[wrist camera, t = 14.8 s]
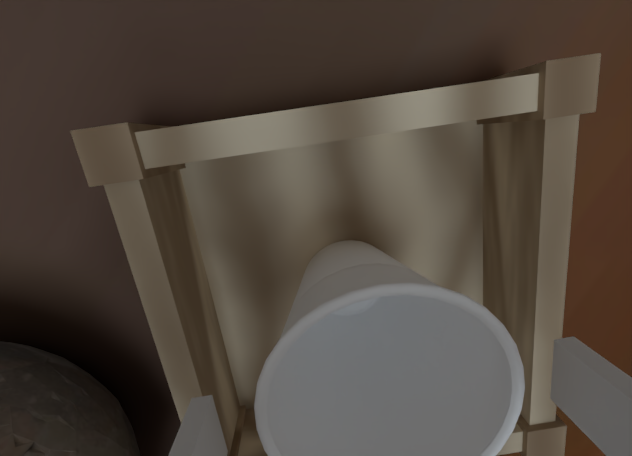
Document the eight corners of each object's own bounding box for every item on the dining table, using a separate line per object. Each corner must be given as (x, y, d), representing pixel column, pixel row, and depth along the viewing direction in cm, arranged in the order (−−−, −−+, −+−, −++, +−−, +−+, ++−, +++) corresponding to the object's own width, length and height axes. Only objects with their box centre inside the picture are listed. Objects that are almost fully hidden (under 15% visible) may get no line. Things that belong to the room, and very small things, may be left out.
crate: (223, 425, 26) (199, 515, 20) (141, 132, 20) (69, 130, 14) (501, 381, 26) (564, 456, 20) (507, 79, 20) (601, 53, 14)
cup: (335, 179, 20) (375, 224, 10) (447, 265, 22) (582, 381, 12) (246, 295, 22) (198, 441, 11) (357, 365, 24) (404, 544, 14)
